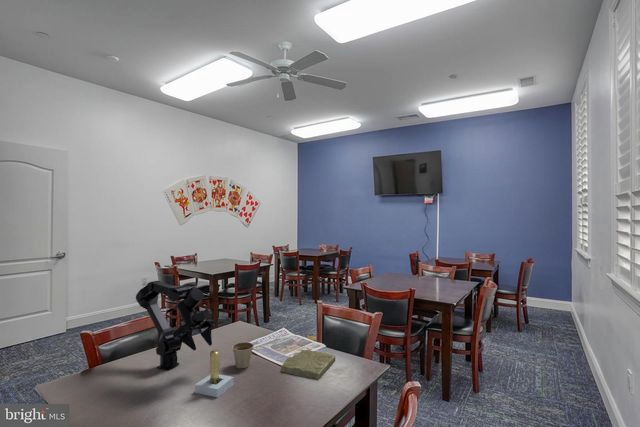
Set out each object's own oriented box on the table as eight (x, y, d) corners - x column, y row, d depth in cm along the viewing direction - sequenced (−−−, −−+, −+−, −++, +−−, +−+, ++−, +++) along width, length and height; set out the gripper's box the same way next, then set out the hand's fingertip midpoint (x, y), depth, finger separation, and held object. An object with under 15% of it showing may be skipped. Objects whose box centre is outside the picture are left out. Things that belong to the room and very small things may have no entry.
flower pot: (248, 371, 145) (248, 351, 145) (228, 369, 147) (228, 349, 147) (257, 362, 154) (257, 343, 154) (237, 360, 156) (237, 341, 156)
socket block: (195, 392, 127) (195, 384, 127) (212, 380, 137) (212, 372, 137) (217, 397, 124) (217, 389, 124) (233, 384, 133) (233, 377, 133)
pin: (208, 390, 129) (208, 353, 129) (211, 386, 132) (212, 350, 132) (217, 391, 129) (217, 353, 129) (220, 386, 132) (220, 350, 132)
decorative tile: (335, 361, 156) (336, 353, 156) (319, 381, 138) (319, 372, 138) (299, 355, 164) (299, 347, 164) (278, 372, 145) (278, 364, 145)
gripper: (184, 304, 132) (201, 341, 127) (216, 300, 149) (231, 332, 144) (165, 320, 134) (180, 357, 129) (198, 314, 151) (213, 346, 146)
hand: (203, 347), depth 137 cm, fingers open, 9 cm apart
